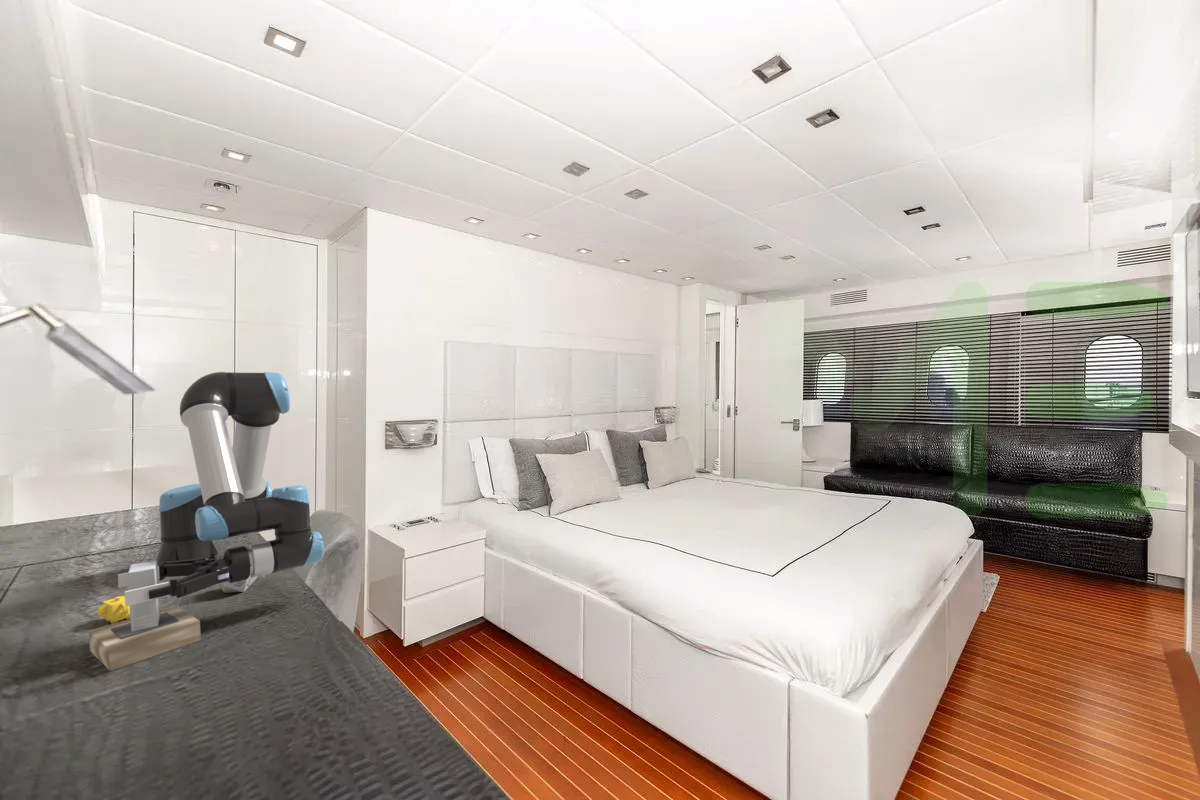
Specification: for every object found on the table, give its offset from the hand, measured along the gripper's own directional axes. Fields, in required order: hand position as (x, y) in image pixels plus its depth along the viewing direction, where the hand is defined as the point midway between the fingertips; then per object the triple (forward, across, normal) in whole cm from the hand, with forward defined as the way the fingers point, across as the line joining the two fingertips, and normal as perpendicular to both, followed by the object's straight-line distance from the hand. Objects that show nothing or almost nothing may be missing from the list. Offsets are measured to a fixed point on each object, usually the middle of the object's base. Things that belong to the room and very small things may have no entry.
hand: (121, 589), depth 104 cm
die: (-23, +20, -13) cm, 34 cm away
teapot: (0, +21, -13) cm, 24 cm away
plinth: (-3, 0, -12) cm, 13 cm away
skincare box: (-3, 0, -8) cm, 9 cm away
